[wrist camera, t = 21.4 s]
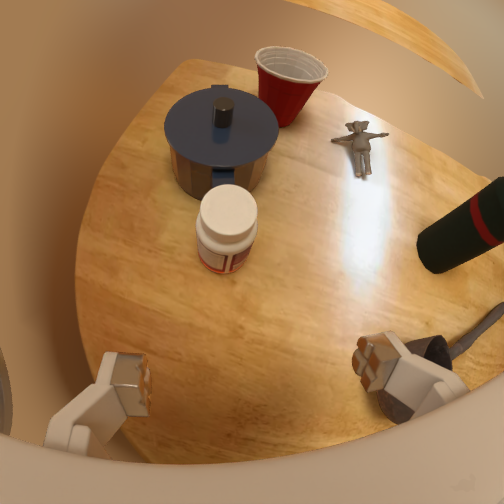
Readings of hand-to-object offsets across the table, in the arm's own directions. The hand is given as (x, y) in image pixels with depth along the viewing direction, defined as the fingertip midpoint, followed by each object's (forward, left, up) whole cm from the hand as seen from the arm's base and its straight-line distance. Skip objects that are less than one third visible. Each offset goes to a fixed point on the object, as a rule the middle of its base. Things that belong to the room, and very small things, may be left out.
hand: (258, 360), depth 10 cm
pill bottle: (+1, +12, -24) cm, 27 cm away
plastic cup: (+11, +36, -24) cm, 45 cm away
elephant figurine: (+24, +28, -24) cm, 44 cm away
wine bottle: (+36, +11, -24) cm, 44 cm away
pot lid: (+1, +25, -15) cm, 29 cm away
